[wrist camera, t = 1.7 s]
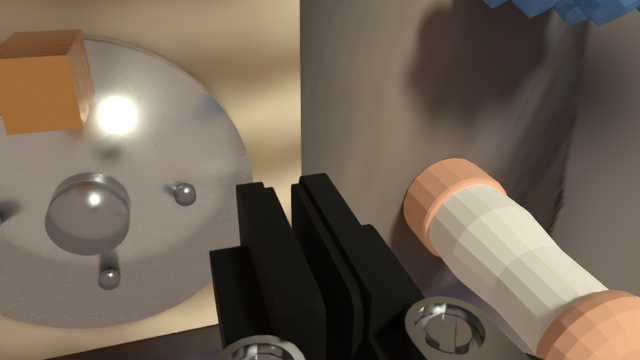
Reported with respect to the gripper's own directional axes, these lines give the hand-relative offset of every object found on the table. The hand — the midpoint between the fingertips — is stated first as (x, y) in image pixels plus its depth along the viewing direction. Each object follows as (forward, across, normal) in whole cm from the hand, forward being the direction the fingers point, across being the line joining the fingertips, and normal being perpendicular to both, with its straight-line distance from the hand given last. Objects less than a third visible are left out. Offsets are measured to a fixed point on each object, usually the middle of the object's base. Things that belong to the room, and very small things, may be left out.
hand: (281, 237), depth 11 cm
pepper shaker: (+21, -18, +14) cm, 31 cm away
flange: (+19, +7, +8) cm, 21 cm away
